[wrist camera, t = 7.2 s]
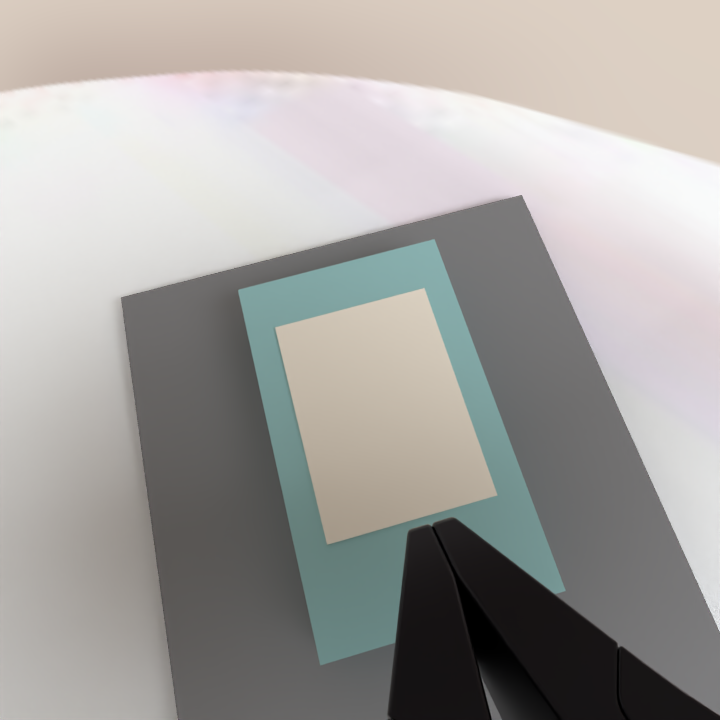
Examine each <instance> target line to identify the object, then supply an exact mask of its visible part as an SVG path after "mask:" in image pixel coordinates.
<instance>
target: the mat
mask: <svg viewBox="0 0 720 720" xmlns="http://www.w3.org/2000/svg"><path fill="white" fill-rule="evenodd" d="M433 239H435V242H436V244H437V247H438V250H439V252H440V255H441V258H442V261H443V263H444V266H445V269H446V271H447V274H448V277H449V279H450V282H451V285H452V287H453V290H454V293H455V295H456V298H457V301H458V303H459V306H460V309H461V311H462V314H463V317H464V319H465V322H466V325H467V328H468V330H469V333H470V336H471V338H472V341H473V344H474V346H475V349H476V352H477V354H478V357H479V360H480V362H481V365H482V368H483V370H484V373H485V376H486V378H487V381H488V384H489V386H490V389H491V392H492V395H493V397H494V400H495V403H496V405H497V408H498V411H499V413H500V416H501V419H502V421H503V424H504V427H505V429H506V432H507V435H508V437H509V440H510V443H511V445H512V448H513V451H514V453H515V456H516V459H517V462H518V464H519V467H520V470H521V472H522V475H523V478H524V480H525V483H526V486H527V488H528V491H529V494H530V496H531V499H532V502H533V504H534V507H535V510H536V512H537V515H538V518H539V520H540V523H541V526H542V529H543V531H544V534H545V537H546V539H547V542H548V545H549V547H550V550H551V553H552V555H553V558H554V561H555V563H556V566H557V569H558V571H559V574H560V577H561V579H562V582H563V585H564V587H565V590H566V591H564V592H561V593H557V594H556V595H557V596H558V597H560V598H561V599H562V600H563V601H565V602H566V603H567V604H569V605H570V606H571V607H573V608H574V609H575V610H577V611H578V612H579V613H580V614H582V615H583V616H584V617H586V618H587V619H588V620H590V621H591V622H592V623H593V624H595V625H596V626H597V627H599V628H600V629H601V630H603V631H604V632H605V633H606V634H608V635H609V636H610V637H612V638H613V639H614V640H616V641H617V642H618V645H619V647H620V646H624V647H625V648H626V649H628V650H629V651H630V652H632V653H633V654H634V655H635V656H637V657H638V658H639V659H641V660H642V661H643V662H644V663H646V664H647V665H648V666H650V667H651V668H653V669H654V670H655V671H657V672H658V673H659V674H661V675H662V676H663V677H665V678H666V679H668V680H669V681H670V682H672V683H673V684H674V685H676V686H677V687H679V688H680V689H681V690H683V691H684V692H686V693H687V694H689V695H690V696H692V697H693V698H695V699H696V700H698V701H699V702H701V703H702V704H704V705H705V706H707V707H708V708H710V709H711V710H713V711H714V712H716V713H717V714H719V715H720V632H719V630H718V628H717V625H716V623H715V621H714V619H713V617H712V614H711V612H710V610H709V608H708V605H707V603H706V601H705V599H704V597H703V594H702V592H701V590H700V588H699V586H698V583H697V581H696V579H695V577H694V575H693V572H692V570H691V568H690V566H689V564H688V561H687V559H686V557H685V555H684V552H683V550H682V548H681V546H680V544H679V541H678V539H677V537H676V535H675V533H674V530H673V528H672V526H671V524H670V522H669V519H668V517H667V515H666V513H665V510H664V508H663V506H662V504H661V502H660V499H659V497H658V495H657V493H656V491H655V488H654V486H653V484H652V482H651V480H650V477H649V475H648V473H647V471H646V468H645V466H644V464H643V462H642V460H641V457H640V455H639V453H638V451H637V449H636V446H635V444H634V442H633V440H632V438H631V435H630V433H629V431H628V429H627V427H626V424H625V422H624V420H623V418H622V415H621V413H620V411H619V409H618V407H617V404H616V402H615V400H614V398H613V396H612V393H611V391H610V389H609V387H608V385H607V382H606V380H605V378H604V376H603V373H602V371H601V369H600V367H599V365H598V362H597V360H596V358H595V356H594V354H593V351H592V349H591V347H590V345H589V343H588V340H587V338H586V336H585V334H584V331H583V329H582V327H581V325H580V323H579V320H578V318H577V316H576V314H575V312H574V309H573V307H572V305H571V303H570V301H569V298H568V296H567V294H566V292H565V289H564V287H563V285H562V283H561V281H560V278H559V276H558V274H557V272H556V270H555V267H554V265H553V263H552V261H551V259H550V256H549V254H548V252H547V250H546V248H545V245H544V243H543V241H542V239H541V236H540V234H539V232H538V230H537V228H536V225H535V223H534V221H533V219H532V217H531V214H530V212H529V210H528V208H527V206H526V203H525V201H524V199H523V197H522V195H520V196H516V197H512V198H508V199H504V200H500V201H497V202H493V203H489V204H485V205H481V206H477V207H473V208H469V209H465V210H461V211H457V212H454V213H450V214H446V215H442V216H438V217H434V218H430V219H426V220H422V221H418V222H415V223H411V224H407V225H403V226H399V227H395V228H391V229H387V230H383V231H379V232H375V233H372V234H368V235H364V236H360V237H356V238H352V239H348V240H344V241H340V242H336V243H332V244H329V245H325V246H321V247H317V248H313V249H309V250H305V251H301V252H297V253H293V254H290V255H286V256H282V257H278V258H274V259H270V260H266V261H262V262H258V263H254V264H250V265H247V266H243V267H239V268H235V269H231V270H227V271H223V272H219V273H215V274H211V275H207V276H204V277H200V278H196V279H192V280H188V281H184V282H180V283H176V284H172V285H168V286H165V287H161V288H157V289H153V290H149V291H145V292H141V293H137V294H133V295H129V296H125V297H122V298H121V301H122V308H123V316H124V323H125V330H126V338H127V345H128V353H129V360H130V367H131V375H132V382H133V389H134V397H135V404H136V412H137V419H138V426H139V434H140V441H141V449H142V456H143V463H144V471H145V478H146V486H147V493H148V500H149V508H150V515H151V523H152V530H153V537H154V545H155V552H156V559H157V567H158V574H159V582H160V589H161V596H162V604H163V611H164V619H165V626H166V633H167V641H168V648H169V656H170V663H171V670H172V678H173V685H174V693H175V700H176V707H177V715H178V720H387V719H388V716H387V712H388V703H389V694H390V685H391V676H392V667H393V658H394V649H395V643H393V644H389V645H386V646H383V647H379V648H376V649H373V650H370V651H366V652H363V653H360V654H356V655H353V656H350V657H346V658H343V659H340V660H337V661H333V662H330V663H327V664H323V665H320V662H319V657H318V653H317V648H316V643H315V639H314V634H313V630H312V625H311V621H310V616H309V612H308V607H307V602H306V598H305V593H304V589H303V584H302V580H301V575H300V571H299V566H298V561H297V557H296V552H295V548H294V543H293V539H292V534H291V530H290V525H289V520H288V516H287V511H286V507H285V502H284V498H283V493H282V488H281V484H280V479H279V475H278V470H277V466H276V461H275V457H274V452H273V447H272V443H271V438H270V434H269V429H268V425H267V420H266V416H265V411H264V406H263V402H262V397H261V393H260V388H259V384H258V379H257V375H256V370H255V365H254V361H253V356H252V352H251V347H250V343H249V338H248V334H247V329H246V324H245V320H244V315H243V311H242V306H241V302H240V297H239V292H238V290H239V289H243V288H247V287H251V286H255V285H259V284H263V283H267V282H270V281H274V280H278V279H282V278H286V277H290V276H294V275H298V274H301V273H305V272H309V271H313V270H317V269H321V268H325V267H328V266H332V265H336V264H340V263H344V262H348V261H352V260H356V259H359V258H363V257H367V256H371V255H375V254H379V253H383V252H387V251H390V250H394V249H398V248H402V247H406V246H410V245H414V244H417V243H421V242H425V241H429V240H433ZM481 678H482V677H481ZM482 682H483V686H484V690H485V694H486V698H487V702H488V706H489V710H490V714H491V718H492V720H502V718H501V716H500V714H499V712H498V710H497V708H496V706H495V704H494V702H493V699H492V697H491V695H490V693H489V691H488V689H487V687H486V685H485V683H484V681H483V679H482Z"/></svg>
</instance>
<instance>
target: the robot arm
mask: <svg viewBox="0 0 720 720" xmlns="http://www.w3.org/2000/svg"><path fill="white" fill-rule="evenodd" d="M481 677H482V678H481ZM482 679H483V681H484V683H485V685H486V687H487V689H488V691H489V693H490V695H491V697H492V699H493V702H494V704H495V706H496V708H497V710H498V712H499V714H500V716H501V718H502V720H720V715H719V714H717V713H716V712H714V711H713V710H711V709H710V708H708V707H707V706H705V705H704V704H702V703H701V702H699V701H698V700H696V699H695V698H693V697H692V696H690V695H689V694H687V693H686V692H684V691H683V690H681V689H680V688H679V687H677V686H676V685H674V684H673V683H672V682H670V681H669V680H668V679H666V678H665V677H663V676H662V675H661V674H659V673H658V672H657V671H655V670H654V669H653V668H651V667H650V666H648V665H647V664H646V663H644V662H643V661H642V660H641V659H639V658H638V657H637V656H635V655H634V654H633V653H632V652H630V651H629V650H628V649H626V648H625V647H624V646H620V647H619V645H618V642H617V641H616V640H614V639H613V638H612V637H610V636H609V635H608V634H606V633H605V632H604V631H603V630H601V629H600V628H599V627H597V626H596V625H595V624H593V623H592V622H591V621H590V620H588V619H587V618H586V617H584V616H583V615H582V614H580V613H579V612H578V611H577V610H575V609H574V608H573V607H571V606H570V605H569V604H567V603H566V602H565V601H563V600H562V599H561V598H560V597H558V596H557V595H556V594H554V593H553V592H552V591H550V590H549V589H548V588H547V587H545V586H544V585H543V584H541V583H540V582H539V581H537V580H536V579H535V578H534V577H532V576H531V575H530V574H528V573H527V572H526V571H524V570H523V569H522V568H521V567H519V566H518V565H517V564H515V563H514V562H513V561H511V560H510V559H509V558H507V557H506V556H505V555H504V554H502V553H501V552H500V551H498V550H497V549H496V548H494V547H493V546H492V545H491V544H489V543H488V542H487V541H485V540H484V539H483V538H481V537H480V536H479V535H478V534H476V533H475V532H474V531H472V530H471V529H470V528H468V527H467V526H466V525H464V524H463V523H462V522H461V521H459V520H458V519H457V518H455V517H449V518H446V519H443V520H439V521H436V522H434V523H433V524H432V526H431V525H429V524H425V525H422V526H419V527H415V528H412V529H410V530H409V531H408V533H407V540H406V549H405V558H404V567H403V576H402V585H401V594H400V603H399V612H398V621H397V631H396V640H395V649H394V658H393V667H392V676H391V685H390V694H389V703H388V712H387V716H388V719H387V720H492V718H491V714H490V710H489V706H488V702H487V698H486V694H485V690H484V686H483V682H482Z"/></svg>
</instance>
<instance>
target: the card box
mask: <svg viewBox="0 0 720 720" xmlns="http://www.w3.org/2000/svg"><path fill="white" fill-rule="evenodd" d="M238 292H239V297H240V302H241V306H242V311H243V315H244V320H245V324H246V329H247V334H248V338H249V343H250V347H251V352H252V356H253V361H254V365H255V370H256V375H257V379H258V384H259V388H260V393H261V397H262V402H263V406H264V411H265V416H266V420H267V425H268V429H269V434H270V438H271V443H272V447H273V452H274V457H275V461H276V466H277V470H278V475H279V479H280V484H281V488H282V493H283V498H284V502H285V507H286V511H287V516H288V520H289V525H290V530H291V534H292V539H293V543H294V548H295V552H296V557H297V561H298V566H299V571H300V575H301V580H302V584H303V589H304V593H305V598H306V602H307V607H308V612H309V616H310V621H311V625H312V630H313V634H314V639H315V643H316V648H317V653H318V657H319V662H320V665H323V664H327V663H330V662H333V661H337V660H340V659H343V658H346V657H350V656H353V655H356V654H360V653H363V652H366V651H370V650H373V649H376V648H379V647H383V646H386V645H389V644H393V643H395V640H396V631H397V621H398V612H399V603H400V594H401V585H402V576H403V567H404V558H405V549H406V540H407V533H408V531H409V530H410V529H412V528H415V527H419V526H422V525H425V524H429V525H431V526H432V524H433V523H434V522H436V521H439V520H443V519H446V518H449V517H455V518H457V519H458V520H459V521H461V522H462V523H463V524H464V525H466V526H467V527H468V528H470V529H471V530H472V531H474V532H475V533H476V534H478V535H479V536H480V537H481V538H483V539H484V540H485V541H487V542H488V543H489V544H491V545H492V546H493V547H494V548H496V549H497V550H498V551H500V552H501V553H502V554H504V555H505V556H506V557H507V558H509V559H510V560H511V561H513V562H514V563H515V564H517V565H518V566H519V567H521V568H522V569H523V570H524V571H526V572H527V573H528V574H530V575H531V576H532V577H534V578H535V579H536V580H537V581H539V582H540V583H541V584H543V585H544V586H545V587H547V588H548V589H549V590H550V591H552V592H553V593H554V594H557V593H561V592H564V591H566V590H565V587H564V585H563V582H562V579H561V577H560V574H559V571H558V569H557V566H556V563H555V561H554V558H553V555H552V553H551V550H550V547H549V545H548V542H547V539H546V537H545V534H544V531H543V529H542V526H541V523H540V520H539V518H538V515H537V512H536V510H535V507H534V504H533V502H532V499H531V496H530V494H529V491H528V488H527V486H526V483H525V480H524V478H523V475H522V472H521V470H520V467H519V464H518V462H517V459H516V456H515V453H514V451H513V448H512V445H511V443H510V440H509V437H508V435H507V432H506V429H505V427H504V424H503V421H502V419H501V416H500V413H499V411H498V408H497V405H496V403H495V400H494V397H493V395H492V392H491V389H490V386H489V384H488V381H487V378H486V376H485V373H484V370H483V368H482V365H481V362H480V360H479V357H478V354H477V352H476V349H475V346H474V344H473V341H472V338H471V336H470V333H469V330H468V328H467V325H466V322H465V319H464V317H463V314H462V311H461V309H460V306H459V303H458V301H457V298H456V295H455V293H454V290H453V287H452V285H451V282H450V279H449V277H448V274H447V271H446V269H445V266H444V263H443V261H442V258H441V255H440V252H439V250H438V247H437V244H436V242H435V239H433V240H429V241H425V242H421V243H417V244H414V245H410V246H406V247H402V248H398V249H394V250H390V251H387V252H383V253H379V254H375V255H371V256H367V257H363V258H359V259H356V260H352V261H348V262H344V263H340V264H336V265H332V266H328V267H325V268H321V269H317V270H313V271H309V272H305V273H301V274H298V275H294V276H290V277H286V278H282V279H278V280H274V281H270V282H267V283H263V284H259V285H255V286H251V287H247V288H243V289H239V290H238Z"/></svg>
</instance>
